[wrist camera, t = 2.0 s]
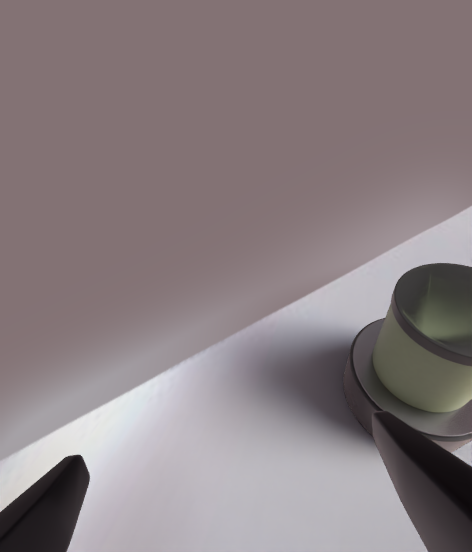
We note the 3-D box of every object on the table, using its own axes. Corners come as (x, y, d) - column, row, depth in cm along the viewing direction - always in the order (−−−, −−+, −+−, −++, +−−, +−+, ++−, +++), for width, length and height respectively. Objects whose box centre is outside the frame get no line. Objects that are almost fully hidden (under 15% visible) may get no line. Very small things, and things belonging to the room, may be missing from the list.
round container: (487, 386, 22) (519, 358, 19) (445, 491, 18) (477, 479, 15) (373, 326, 27) (383, 296, 24) (322, 398, 23) (326, 374, 20)
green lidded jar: (488, 361, 19) (556, 294, 14) (456, 437, 16) (525, 389, 11) (393, 315, 22) (420, 249, 17) (354, 372, 20) (373, 313, 15)
